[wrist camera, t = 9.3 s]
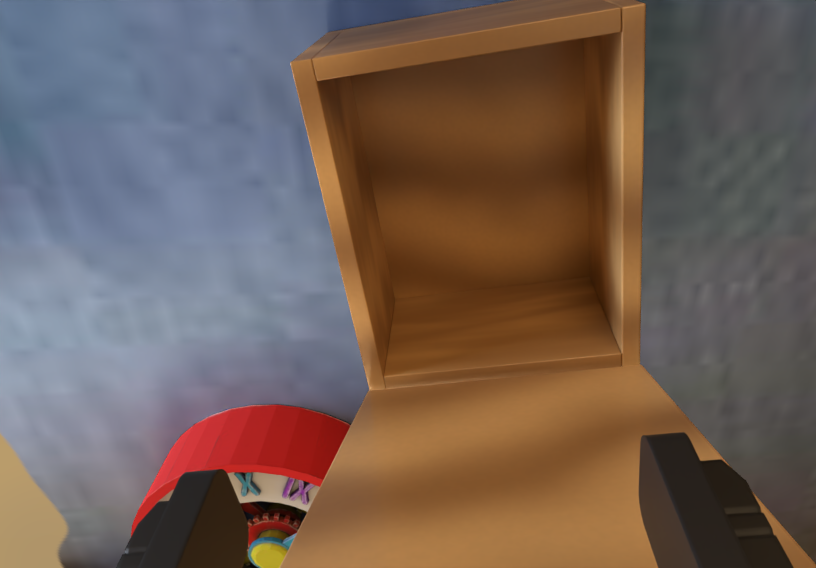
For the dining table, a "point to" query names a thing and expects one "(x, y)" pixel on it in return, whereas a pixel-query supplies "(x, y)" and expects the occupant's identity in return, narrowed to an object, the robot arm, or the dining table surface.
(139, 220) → the dining table surface
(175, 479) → the toy clock
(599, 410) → the lid
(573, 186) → the chest
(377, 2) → the dining table surface
